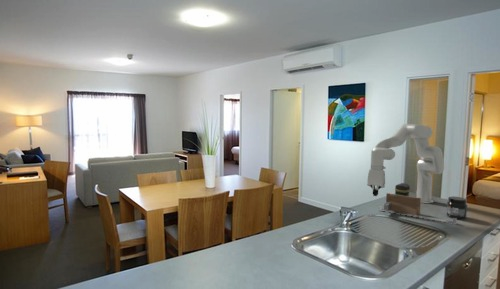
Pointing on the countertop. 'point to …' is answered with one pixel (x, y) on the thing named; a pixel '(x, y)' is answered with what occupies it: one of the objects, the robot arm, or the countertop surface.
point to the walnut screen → (402, 204)
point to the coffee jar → (402, 189)
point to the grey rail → (419, 216)
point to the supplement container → (457, 207)
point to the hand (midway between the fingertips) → (375, 195)
